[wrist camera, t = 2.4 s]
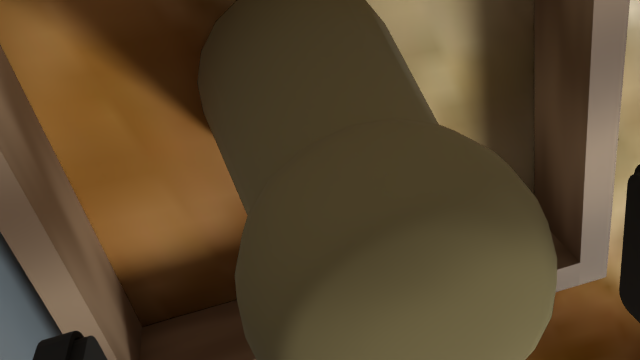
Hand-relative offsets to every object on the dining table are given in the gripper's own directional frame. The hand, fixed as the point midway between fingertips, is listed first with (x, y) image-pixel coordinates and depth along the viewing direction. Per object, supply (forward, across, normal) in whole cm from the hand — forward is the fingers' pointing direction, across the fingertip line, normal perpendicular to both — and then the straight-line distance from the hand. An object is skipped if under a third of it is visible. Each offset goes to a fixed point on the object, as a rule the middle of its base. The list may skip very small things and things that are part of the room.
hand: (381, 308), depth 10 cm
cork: (+10, 0, -1) cm, 10 cm away
